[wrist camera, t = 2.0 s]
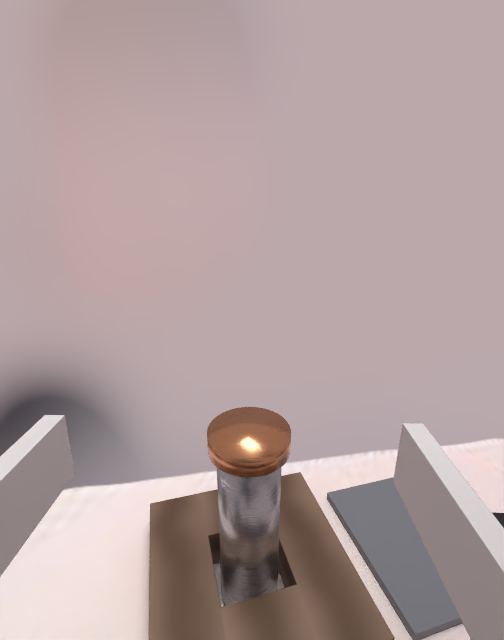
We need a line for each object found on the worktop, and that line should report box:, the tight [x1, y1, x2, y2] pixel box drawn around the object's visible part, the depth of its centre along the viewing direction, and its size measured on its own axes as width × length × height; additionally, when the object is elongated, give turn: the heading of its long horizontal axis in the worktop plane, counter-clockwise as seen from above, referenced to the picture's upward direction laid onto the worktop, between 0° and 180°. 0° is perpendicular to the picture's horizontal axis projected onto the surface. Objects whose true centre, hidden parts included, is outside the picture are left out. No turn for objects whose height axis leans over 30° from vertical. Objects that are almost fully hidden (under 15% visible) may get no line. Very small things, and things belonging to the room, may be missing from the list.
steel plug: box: [207, 407, 291, 606], centre depth 27 cm, size 6×6×16 cm
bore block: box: [149, 472, 394, 640], centre depth 29 cm, size 16×16×4 cm
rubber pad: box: [327, 478, 463, 640], centre depth 34 cm, size 14×14×1 cm
